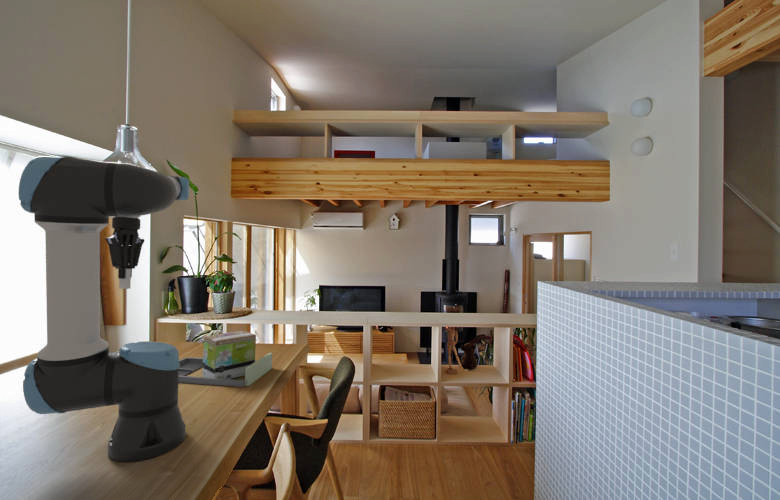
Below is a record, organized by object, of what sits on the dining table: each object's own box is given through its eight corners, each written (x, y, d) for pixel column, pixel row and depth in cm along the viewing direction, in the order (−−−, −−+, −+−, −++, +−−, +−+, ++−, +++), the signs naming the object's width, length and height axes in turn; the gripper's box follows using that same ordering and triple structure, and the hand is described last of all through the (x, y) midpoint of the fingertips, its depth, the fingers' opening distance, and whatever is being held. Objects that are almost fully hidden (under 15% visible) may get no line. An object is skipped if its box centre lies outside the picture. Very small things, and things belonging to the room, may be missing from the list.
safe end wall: (248, 386, 120) (248, 368, 120) (244, 385, 120) (245, 368, 120) (271, 368, 137) (272, 353, 137) (268, 368, 138) (269, 352, 138)
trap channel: (243, 387, 119) (243, 381, 119) (146, 380, 122) (146, 374, 122) (269, 367, 139) (270, 362, 139) (186, 362, 142) (186, 357, 142)
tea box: (214, 384, 120) (215, 341, 120) (201, 377, 127) (202, 335, 127) (255, 373, 132) (256, 333, 132) (242, 367, 138) (242, 329, 138)
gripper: (132, 219, 124) (130, 286, 124) (98, 215, 112) (96, 290, 111) (152, 219, 124) (150, 286, 124) (119, 215, 111) (118, 290, 111)
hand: (124, 288), depth 118 cm, fingers closed
